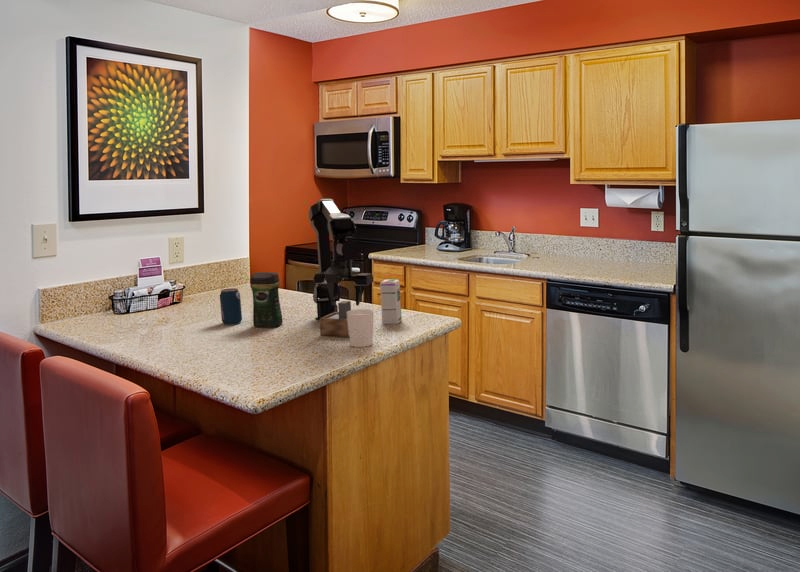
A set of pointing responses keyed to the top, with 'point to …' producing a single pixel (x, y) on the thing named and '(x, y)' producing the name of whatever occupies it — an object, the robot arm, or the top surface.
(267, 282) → the coffee jar
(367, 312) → the beige cup
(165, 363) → the top surface
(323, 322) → the walnut box
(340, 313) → the cover plate
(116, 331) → the top surface
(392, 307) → the syrup box
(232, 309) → the soda can
